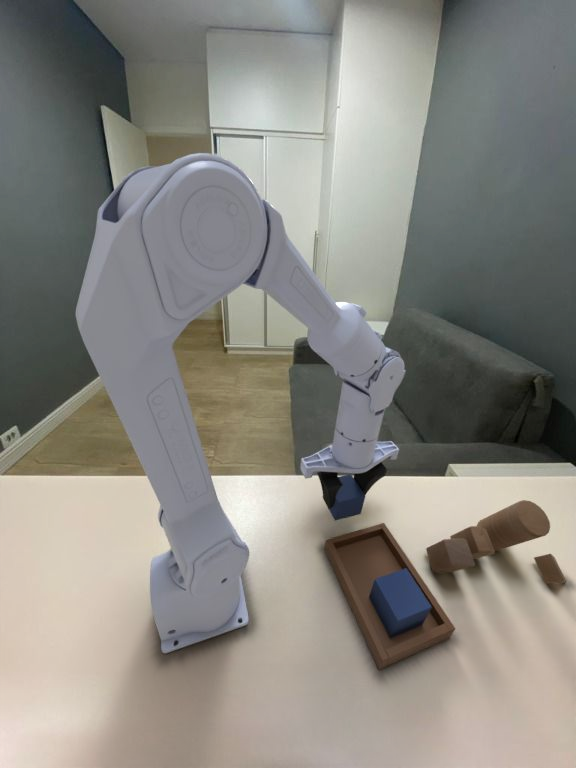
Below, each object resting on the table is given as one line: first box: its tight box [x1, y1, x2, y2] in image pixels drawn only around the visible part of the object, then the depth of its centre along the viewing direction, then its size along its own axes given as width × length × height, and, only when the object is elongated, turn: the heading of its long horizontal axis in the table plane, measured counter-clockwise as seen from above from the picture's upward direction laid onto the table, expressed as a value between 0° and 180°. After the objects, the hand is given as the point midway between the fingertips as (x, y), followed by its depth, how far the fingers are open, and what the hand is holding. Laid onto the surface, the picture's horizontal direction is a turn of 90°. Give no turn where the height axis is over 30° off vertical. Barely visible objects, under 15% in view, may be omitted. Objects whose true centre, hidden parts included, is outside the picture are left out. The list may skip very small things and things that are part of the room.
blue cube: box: [369, 568, 432, 638], centre depth 36 cm, size 4×4×4 cm
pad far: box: [327, 473, 366, 522], centre depth 47 cm, size 4×4×4 cm
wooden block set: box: [425, 499, 567, 584], centre depth 41 cm, size 18×9×10 cm, turn 93°
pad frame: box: [323, 522, 456, 670], centre depth 39 cm, size 10×14×2 cm
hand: (342, 499), depth 48 cm, fingers closed on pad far, 4 cm apart
